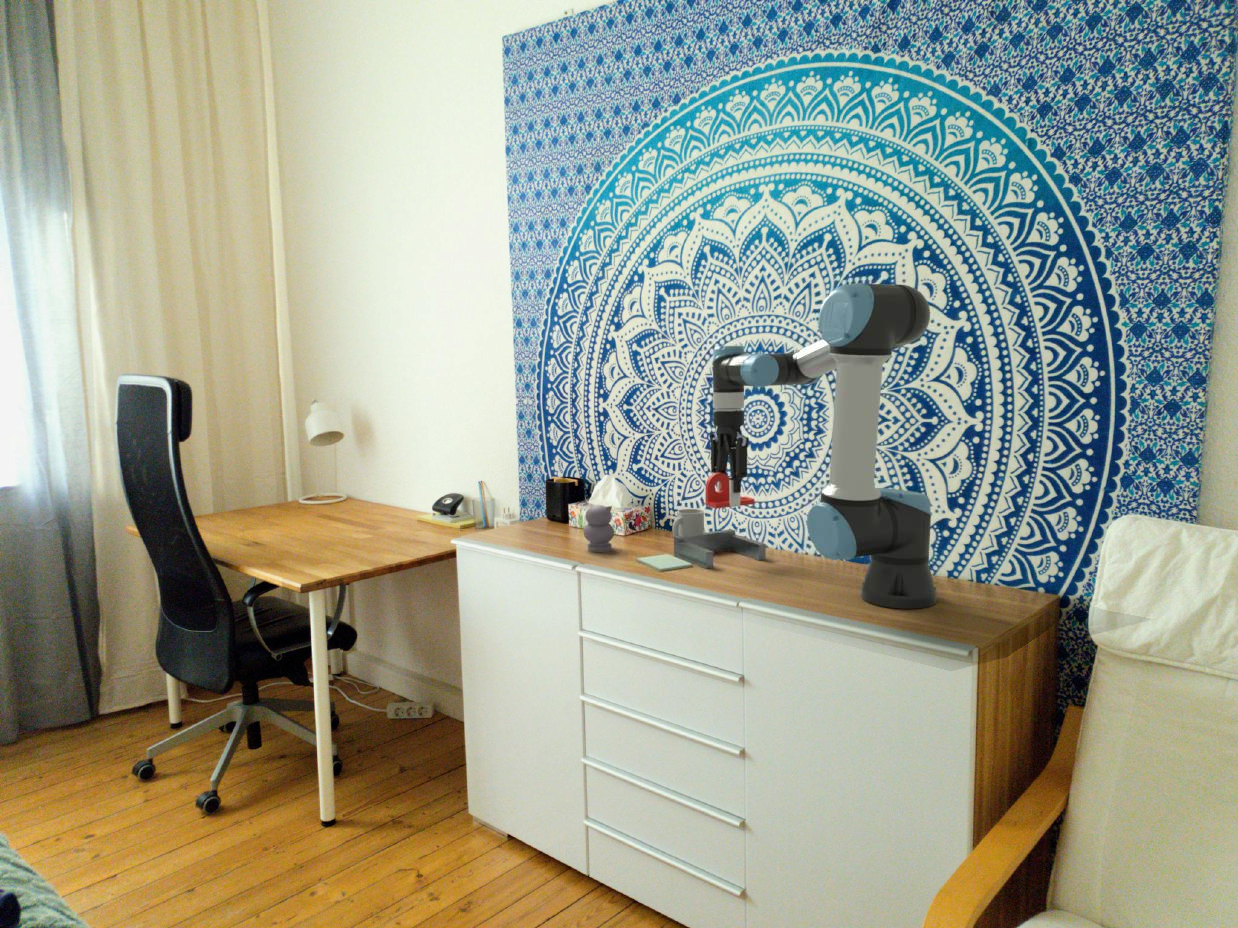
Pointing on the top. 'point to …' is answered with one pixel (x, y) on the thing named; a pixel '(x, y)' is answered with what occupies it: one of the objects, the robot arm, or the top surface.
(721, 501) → the bracket
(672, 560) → the mat
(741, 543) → the grey u-shaped frame
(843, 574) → the top surface
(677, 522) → the cup
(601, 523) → the cat figurine
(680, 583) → the top surface
